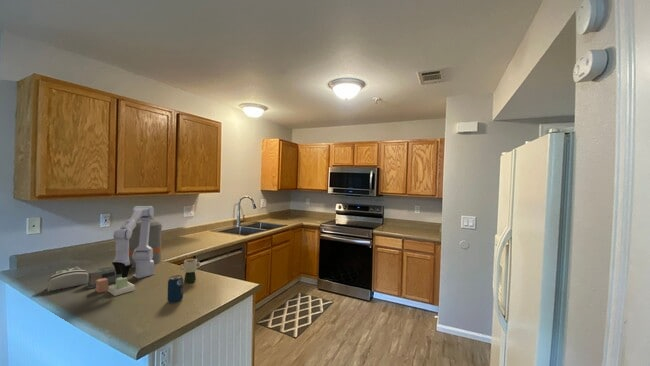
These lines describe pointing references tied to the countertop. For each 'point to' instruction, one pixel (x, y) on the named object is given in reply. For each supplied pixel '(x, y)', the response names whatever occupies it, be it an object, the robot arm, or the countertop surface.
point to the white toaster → (68, 270)
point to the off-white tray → (123, 290)
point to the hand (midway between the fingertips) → (121, 275)
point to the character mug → (190, 269)
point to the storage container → (153, 242)
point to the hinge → (68, 279)
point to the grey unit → (102, 275)
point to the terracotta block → (102, 285)
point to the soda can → (175, 289)
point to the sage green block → (121, 283)
